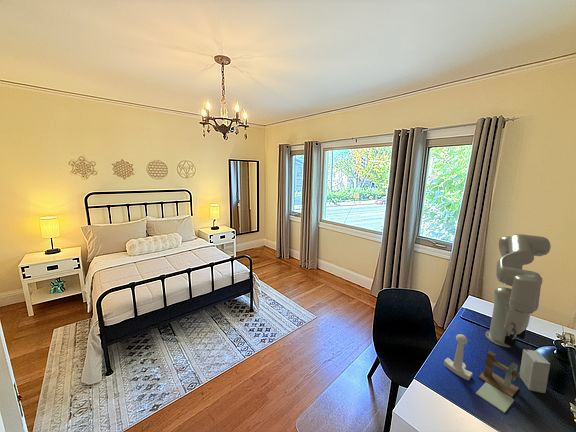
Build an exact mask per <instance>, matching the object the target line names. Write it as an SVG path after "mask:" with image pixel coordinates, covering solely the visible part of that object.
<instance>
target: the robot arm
mask: <svg viewBox="0 0 576 432" xmlns="http://www.w3.org/2000/svg"><path fill="white" fill-rule="evenodd" d="M551 245H552V244H551V242H550V240H549V239H548V238H547V237H545V236H538V235H530V234H521V233H519V234H518V233H517V234H514V235H511V236H501V237H500V238H499V239H498V249H499V252H500V256H501V258H499V259H498V260H497V263H496V271H495V273H496V276H495V277H496V279H497V281H499V282H500V283H501V284H503V285H506V286H510V288H509V287H504V286H499V287H496V288H495V289H494V292H493V300H494V301H493V308H492V309H493V310H492V314H491V321H490V328H489V330H486V331H485V334H484V335H485V338H486V339H488V341H490V342H491V343H494V345H497V346H501V347H504V348H515V346H516V337H517V338H520V339H522V340H525V336H526V333H527V328H528V326H529V323H530V317H531V315H532V314H534V313H535V312H536V311H537V310H538V309H539V305H540V304H539V303H540V296H541V287H542V284H543V277H542V276H541V274H540V273H538V272H536V271H533V270H528V269H523V266H526V265H530V264H531V263H533V261H534V260H535V257H542V256H546V255H548V254H549V253H550V251H551V248H552V247H551Z"/></svg>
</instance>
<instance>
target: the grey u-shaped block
mask: <svg viewBox="0 0 576 432" xmlns="http://www.w3.org/2000/svg"><path fill="white" fill-rule="evenodd" d="M507 367H508V368H507V369H506V371H505V375H504V378H503V379H504V385H506V386H508V387H509V386H510V385H511V383H512V382H514V381H515V380H516V377H515V376H513V373H514V372H515V371H516V372H517V373H518V367H519V364H517V363H515V362H514V361H512V362H511V364H510V365H509V366H507Z"/></svg>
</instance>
